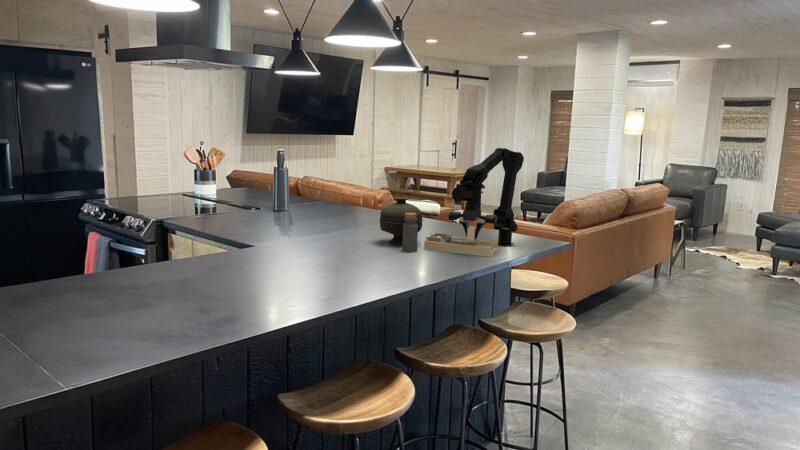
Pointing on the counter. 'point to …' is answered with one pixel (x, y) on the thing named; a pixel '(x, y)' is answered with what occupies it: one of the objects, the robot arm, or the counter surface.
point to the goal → (434, 237)
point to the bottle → (410, 233)
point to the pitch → (464, 247)
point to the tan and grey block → (470, 237)
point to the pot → (398, 219)
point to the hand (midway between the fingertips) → (471, 238)
